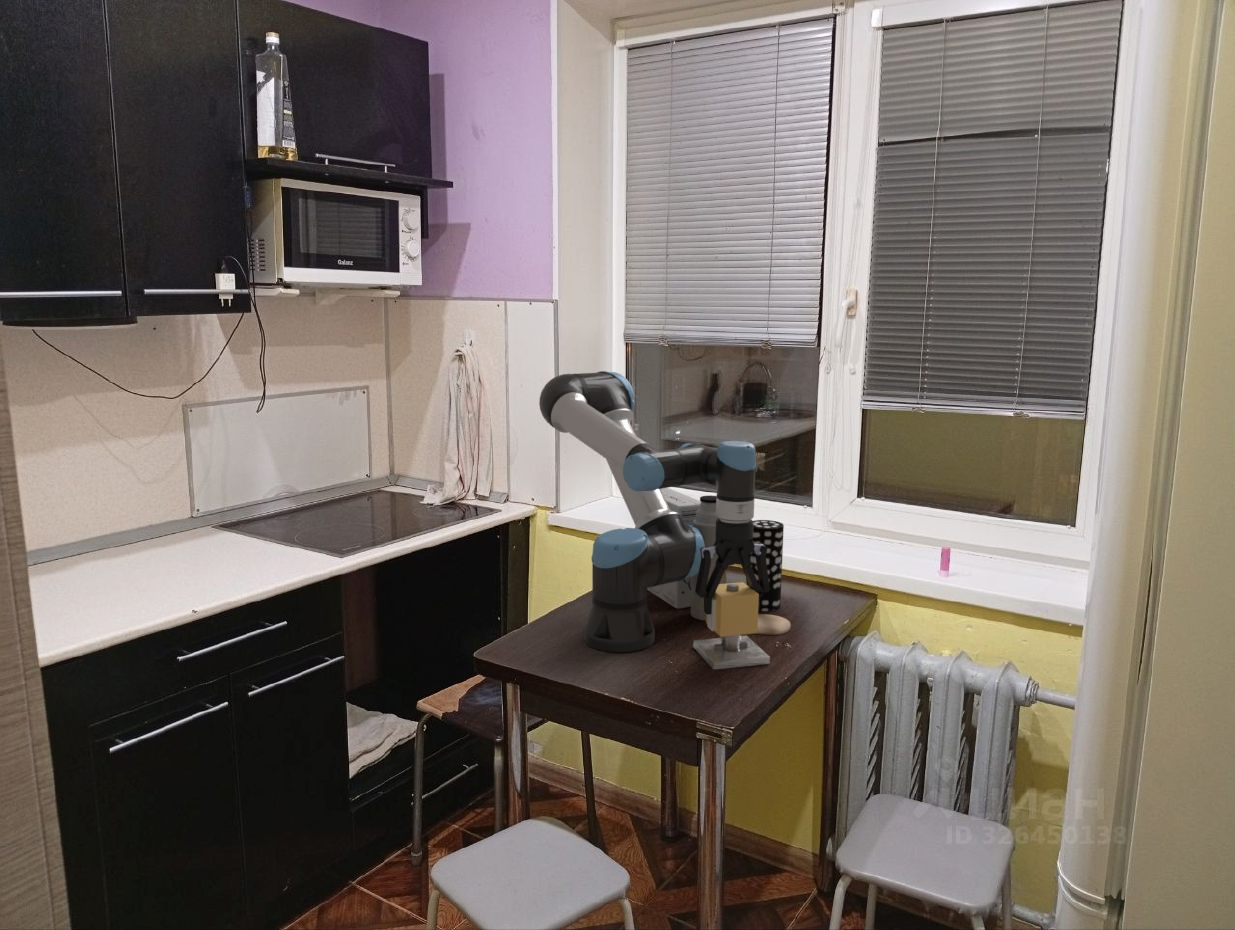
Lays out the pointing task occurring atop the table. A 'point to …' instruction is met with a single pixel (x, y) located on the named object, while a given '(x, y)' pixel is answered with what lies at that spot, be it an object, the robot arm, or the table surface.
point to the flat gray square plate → (731, 652)
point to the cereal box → (686, 507)
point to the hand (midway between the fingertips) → (731, 626)
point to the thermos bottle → (708, 531)
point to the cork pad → (772, 625)
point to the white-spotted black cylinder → (769, 560)
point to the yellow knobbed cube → (736, 609)
